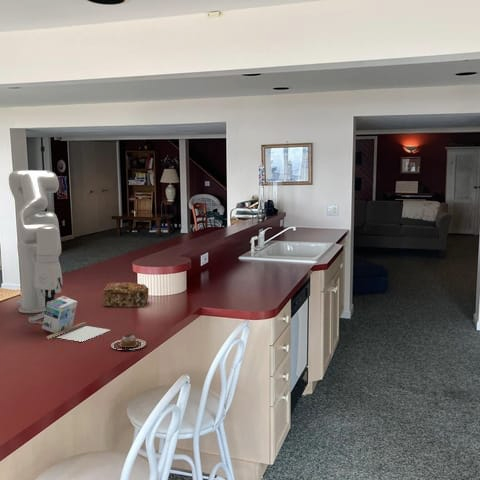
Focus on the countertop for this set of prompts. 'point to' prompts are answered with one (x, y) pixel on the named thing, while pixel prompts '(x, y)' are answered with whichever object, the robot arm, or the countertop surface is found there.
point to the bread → (125, 295)
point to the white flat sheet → (84, 333)
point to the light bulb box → (59, 314)
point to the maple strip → (66, 330)
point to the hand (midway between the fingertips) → (49, 306)
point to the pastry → (129, 342)
